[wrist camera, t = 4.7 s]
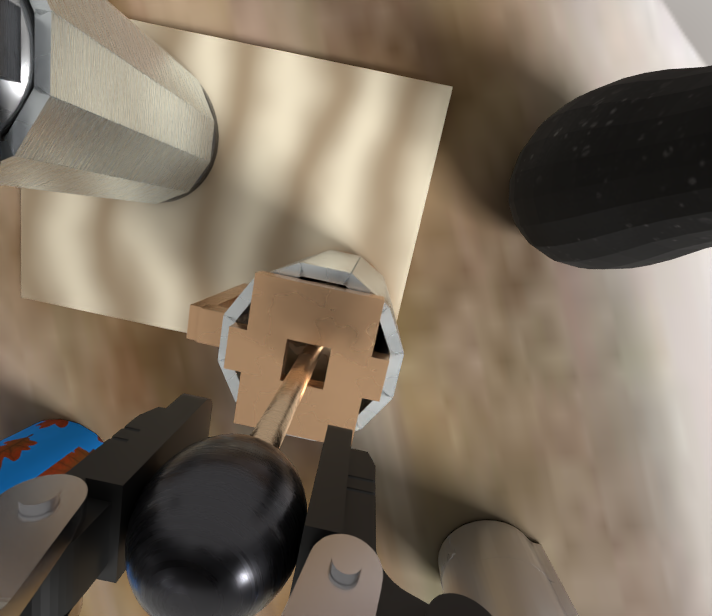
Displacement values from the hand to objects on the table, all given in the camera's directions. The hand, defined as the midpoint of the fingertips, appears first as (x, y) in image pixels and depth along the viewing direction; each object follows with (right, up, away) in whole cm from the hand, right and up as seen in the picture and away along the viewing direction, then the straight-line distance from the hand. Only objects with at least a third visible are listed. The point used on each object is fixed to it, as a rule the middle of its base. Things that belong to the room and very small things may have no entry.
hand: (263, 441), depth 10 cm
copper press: (0, +4, +18) cm, 19 cm away
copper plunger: (+1, +2, +10) cm, 10 cm away
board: (-8, +12, +19) cm, 24 cm away
